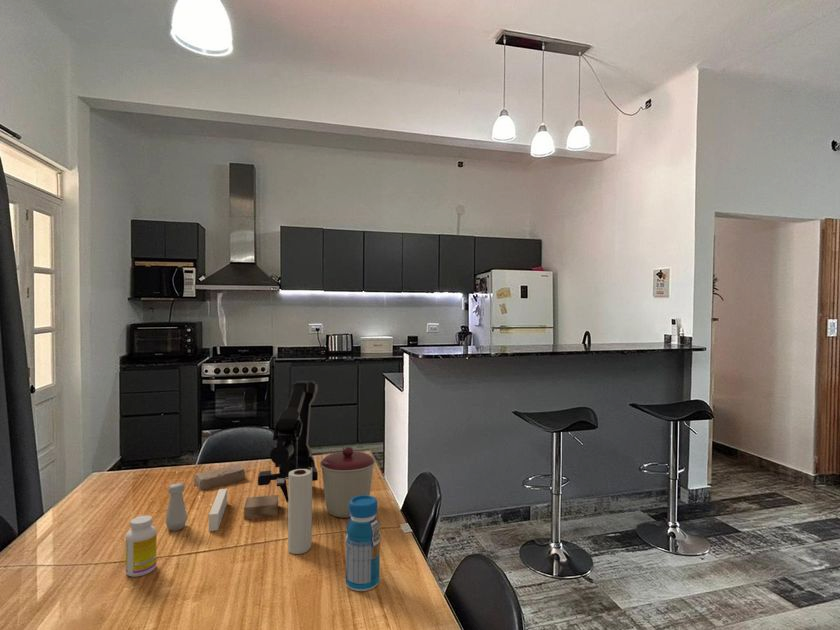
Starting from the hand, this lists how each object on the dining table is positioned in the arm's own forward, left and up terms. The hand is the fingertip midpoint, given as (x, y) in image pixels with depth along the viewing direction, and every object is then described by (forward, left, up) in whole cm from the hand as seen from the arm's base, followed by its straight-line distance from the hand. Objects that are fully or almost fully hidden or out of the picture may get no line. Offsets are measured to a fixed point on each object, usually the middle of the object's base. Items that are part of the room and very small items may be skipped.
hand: (288, 501), depth 153 cm
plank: (+21, 0, -2) cm, 21 cm away
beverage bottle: (-18, +47, -3) cm, 50 cm away
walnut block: (+8, 0, -3) cm, 9 cm away
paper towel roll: (-4, +27, -3) cm, 27 cm away
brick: (+25, -32, -3) cm, 41 cm away
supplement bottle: (+35, +28, -3) cm, 45 cm away
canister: (-19, +6, -3) cm, 20 cm away
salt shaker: (+32, +5, -3) cm, 33 cm away
